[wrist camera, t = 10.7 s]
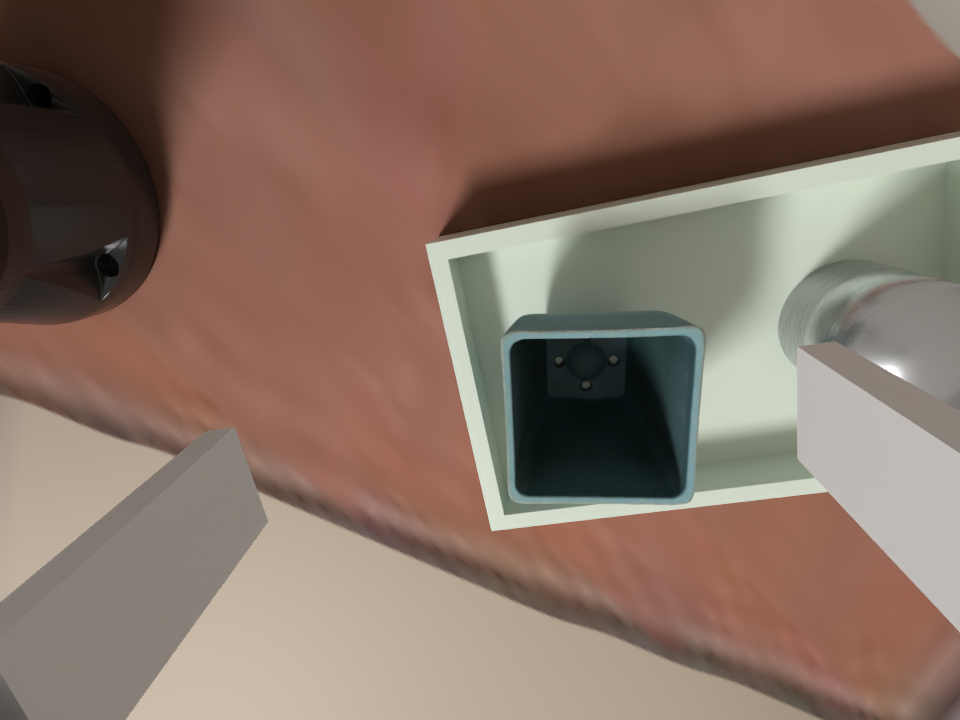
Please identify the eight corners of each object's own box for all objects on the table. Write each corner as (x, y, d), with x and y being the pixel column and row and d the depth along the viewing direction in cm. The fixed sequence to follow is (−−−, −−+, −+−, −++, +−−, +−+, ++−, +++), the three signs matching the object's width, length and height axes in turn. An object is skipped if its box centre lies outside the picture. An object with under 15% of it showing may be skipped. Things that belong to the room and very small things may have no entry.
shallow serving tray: (495, 495, 38) (491, 530, 34) (438, 236, 33) (425, 244, 29) (940, 439, 34) (990, 472, 30) (955, 131, 29) (1018, 124, 25)
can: (780, 387, 33) (853, 450, 25) (775, 272, 31) (853, 303, 23) (908, 368, 32) (1024, 428, 24) (912, 248, 30) (1040, 272, 22)
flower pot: (514, 426, 35) (508, 506, 27) (508, 291, 33) (499, 331, 24) (655, 425, 34) (694, 506, 26) (661, 285, 32) (707, 325, 23)
